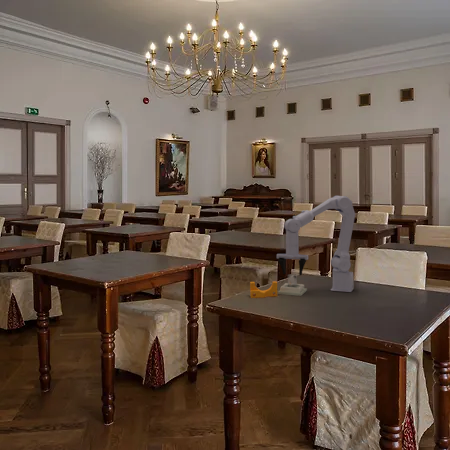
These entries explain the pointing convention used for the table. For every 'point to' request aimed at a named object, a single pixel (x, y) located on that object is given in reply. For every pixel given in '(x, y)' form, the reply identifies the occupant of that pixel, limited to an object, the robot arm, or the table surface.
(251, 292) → the pipe clamp
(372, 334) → the table surface
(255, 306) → the table surface
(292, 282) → the grey cylinder
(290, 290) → the socket
